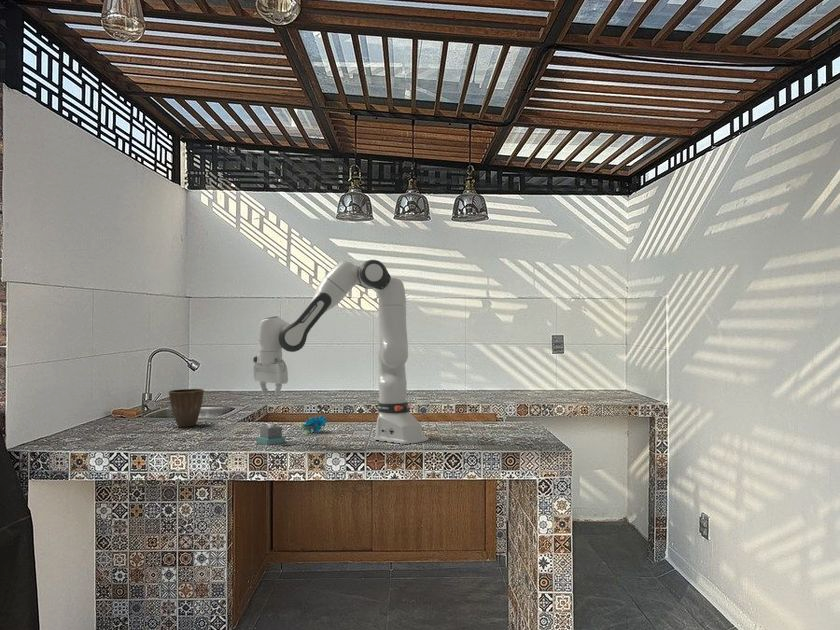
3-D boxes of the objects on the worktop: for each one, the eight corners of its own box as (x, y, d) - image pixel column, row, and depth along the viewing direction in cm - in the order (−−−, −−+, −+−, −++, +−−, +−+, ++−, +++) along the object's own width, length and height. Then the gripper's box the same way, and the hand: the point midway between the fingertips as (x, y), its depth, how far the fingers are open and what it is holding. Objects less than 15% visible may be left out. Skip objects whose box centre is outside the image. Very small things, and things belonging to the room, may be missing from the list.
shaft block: (285, 442, 251) (285, 424, 251) (266, 445, 246) (266, 426, 246) (274, 439, 257) (274, 421, 257) (256, 442, 252) (256, 424, 252)
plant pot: (161, 428, 287) (161, 391, 287) (181, 422, 301) (181, 388, 301) (191, 429, 283) (191, 392, 283) (210, 423, 298) (210, 389, 298)
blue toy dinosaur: (325, 425, 280) (327, 411, 273) (329, 437, 276) (331, 423, 269) (299, 431, 275) (301, 417, 269) (303, 442, 272) (305, 428, 265)
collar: (281, 437, 251) (281, 426, 252) (268, 439, 247) (268, 428, 247) (273, 435, 256) (273, 424, 256) (260, 437, 252) (260, 426, 252)
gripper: (291, 359, 246) (292, 395, 246) (264, 357, 261) (265, 391, 261) (277, 359, 242) (277, 397, 242) (250, 357, 257) (250, 392, 257)
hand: (270, 394), depth 252 cm, fingers open, 8 cm apart
